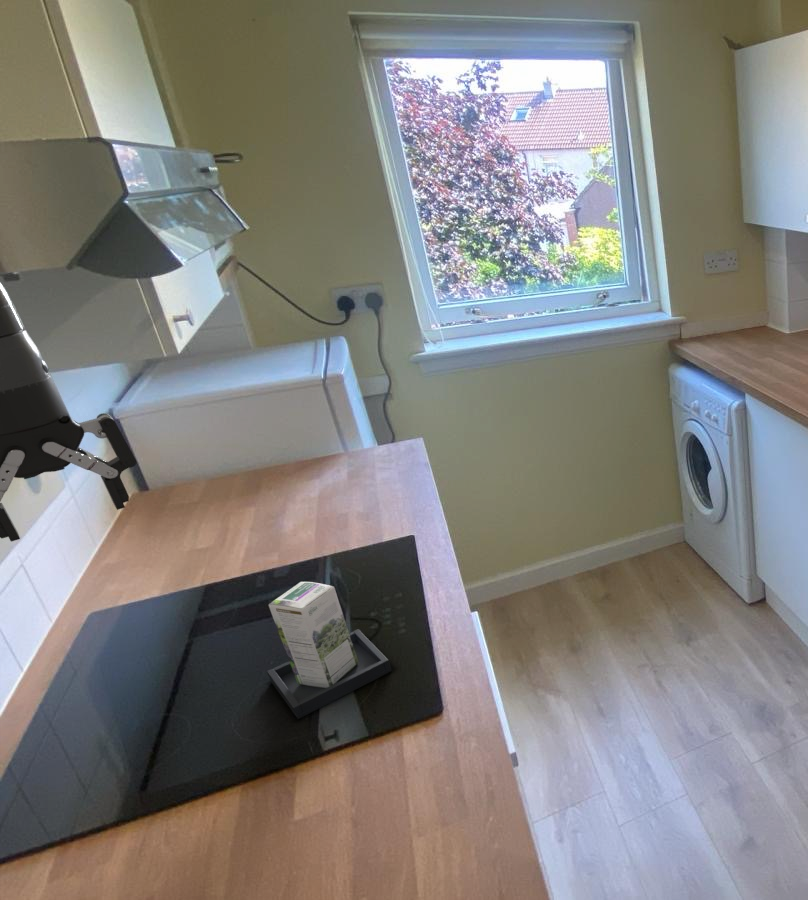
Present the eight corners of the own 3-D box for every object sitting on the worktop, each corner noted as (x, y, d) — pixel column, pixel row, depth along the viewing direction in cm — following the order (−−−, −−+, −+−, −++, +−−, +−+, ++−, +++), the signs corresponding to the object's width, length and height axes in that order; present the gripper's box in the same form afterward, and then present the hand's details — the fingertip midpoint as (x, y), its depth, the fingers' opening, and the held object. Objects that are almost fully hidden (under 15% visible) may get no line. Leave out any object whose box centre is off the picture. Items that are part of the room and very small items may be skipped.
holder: (298, 719, 101) (293, 707, 100) (271, 682, 108) (266, 671, 107) (392, 671, 110) (388, 659, 109) (361, 639, 117) (358, 628, 116)
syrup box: (328, 659, 112) (298, 579, 106) (361, 663, 110) (333, 583, 104) (297, 685, 107) (265, 603, 101) (331, 690, 105) (301, 607, 99)
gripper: (86, 356, 80) (144, 488, 87) (-110, 392, 70) (-27, 537, 77) (98, 369, 75) (159, 507, 82) (-110, 409, 66) (-22, 562, 72)
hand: (69, 522), depth 79 cm, fingers open, 8 cm apart
